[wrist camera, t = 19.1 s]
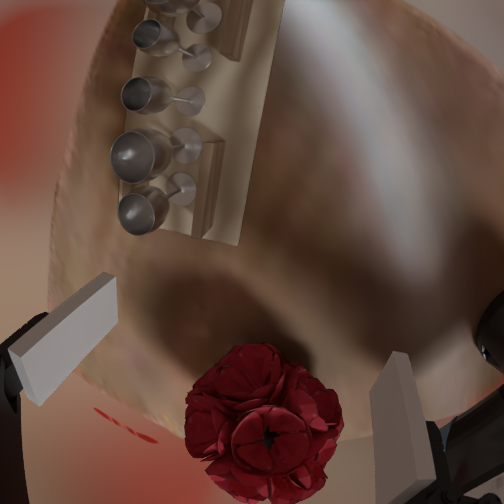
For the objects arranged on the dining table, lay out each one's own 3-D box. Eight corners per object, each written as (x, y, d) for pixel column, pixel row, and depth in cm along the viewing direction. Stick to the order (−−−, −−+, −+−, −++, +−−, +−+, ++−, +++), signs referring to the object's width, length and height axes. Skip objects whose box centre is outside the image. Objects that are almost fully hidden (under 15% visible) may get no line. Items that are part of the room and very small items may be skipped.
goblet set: (200, 210, 40) (154, 248, 28) (160, 203, 41) (104, 237, 29) (230, -2, 29) (193, -49, 17) (186, -1, 30) (136, -40, 18)
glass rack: (289, -22, 27) (285, -41, 22) (238, 244, 42) (227, 262, 37) (157, -23, 29) (138, -37, 24) (120, 216, 44) (98, 229, 39)
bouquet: (353, 378, 56) (326, 314, 34) (354, 494, 41) (325, 529, 20) (250, 386, 63) (166, 332, 42) (242, 492, 49) (141, 499, 27)
